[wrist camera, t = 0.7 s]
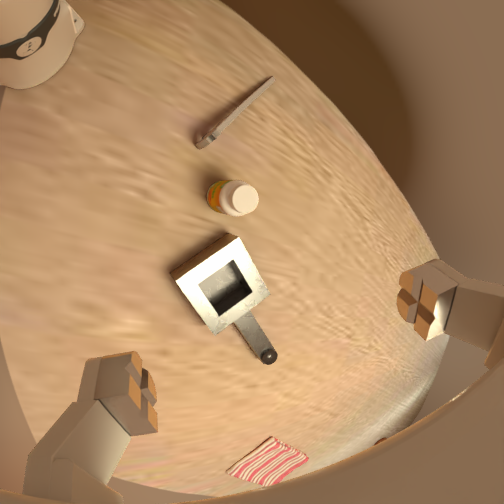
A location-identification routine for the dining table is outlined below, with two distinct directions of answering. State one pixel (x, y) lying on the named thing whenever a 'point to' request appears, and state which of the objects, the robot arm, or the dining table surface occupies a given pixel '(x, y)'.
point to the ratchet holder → (227, 291)
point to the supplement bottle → (232, 197)
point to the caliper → (233, 115)
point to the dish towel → (268, 463)
